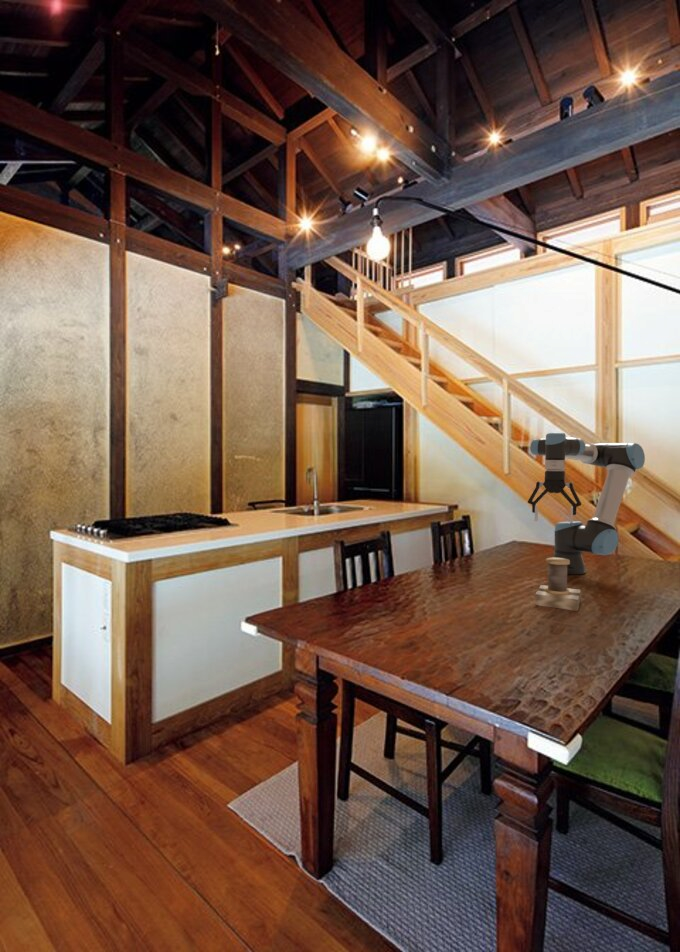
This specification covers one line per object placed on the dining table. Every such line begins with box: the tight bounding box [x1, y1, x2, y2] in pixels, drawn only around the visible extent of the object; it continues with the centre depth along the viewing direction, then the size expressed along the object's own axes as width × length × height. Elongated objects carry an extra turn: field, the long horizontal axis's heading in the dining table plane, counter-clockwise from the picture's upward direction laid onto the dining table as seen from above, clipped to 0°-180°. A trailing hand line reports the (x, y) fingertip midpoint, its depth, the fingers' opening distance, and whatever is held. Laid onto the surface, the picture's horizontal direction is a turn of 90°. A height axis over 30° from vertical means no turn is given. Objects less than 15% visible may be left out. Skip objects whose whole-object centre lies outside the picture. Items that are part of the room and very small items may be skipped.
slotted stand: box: [534, 584, 582, 612], centre depth 184 cm, size 14×14×4 cm
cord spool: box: [545, 556, 570, 595], centre depth 184 cm, size 8×8×12 cm
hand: (553, 521), depth 206 cm, fingers open, 13 cm apart
